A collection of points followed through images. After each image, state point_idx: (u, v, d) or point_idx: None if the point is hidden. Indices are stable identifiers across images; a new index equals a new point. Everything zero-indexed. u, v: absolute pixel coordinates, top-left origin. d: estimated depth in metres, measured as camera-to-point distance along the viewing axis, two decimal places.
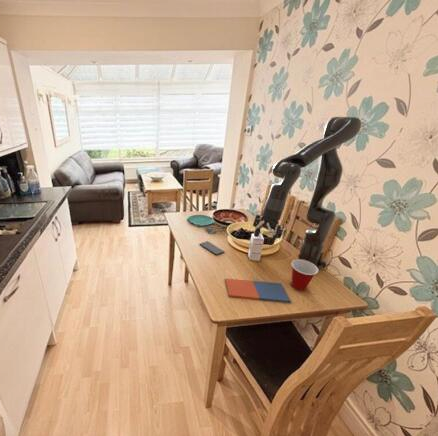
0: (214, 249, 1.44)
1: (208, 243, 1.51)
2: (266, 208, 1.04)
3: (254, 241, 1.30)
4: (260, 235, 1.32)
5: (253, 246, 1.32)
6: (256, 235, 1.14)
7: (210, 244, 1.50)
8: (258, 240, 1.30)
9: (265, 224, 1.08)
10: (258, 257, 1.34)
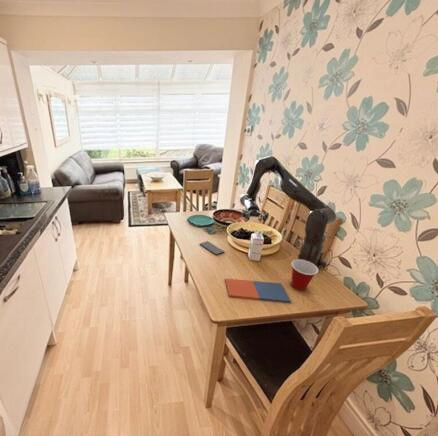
0: (214, 249, 1.44)
1: (208, 243, 1.51)
2: None
3: (254, 241, 1.30)
4: (260, 235, 1.32)
5: (253, 246, 1.32)
6: (263, 220, 1.38)
7: (210, 244, 1.50)
8: (258, 240, 1.30)
9: None
10: (258, 257, 1.34)
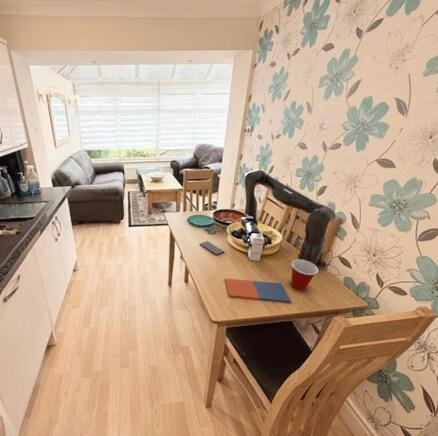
0: (214, 249, 1.44)
1: (208, 243, 1.51)
2: None
3: (254, 241, 1.30)
4: (260, 235, 1.32)
5: (253, 246, 1.32)
6: None
7: (210, 244, 1.50)
8: (258, 240, 1.30)
9: None
10: (258, 257, 1.34)
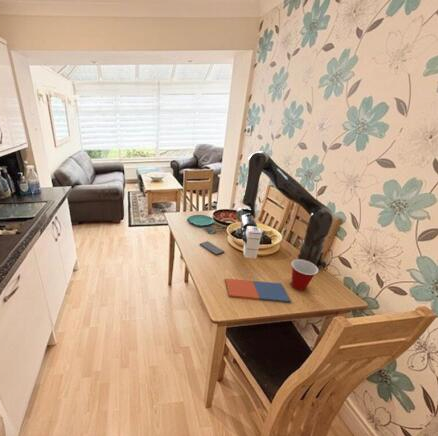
0: (214, 249, 1.44)
1: (208, 243, 1.51)
2: None
3: (250, 235, 1.10)
4: (257, 228, 1.11)
5: (248, 241, 1.11)
6: None
7: (210, 244, 1.50)
8: (254, 234, 1.09)
9: None
10: (254, 254, 1.13)
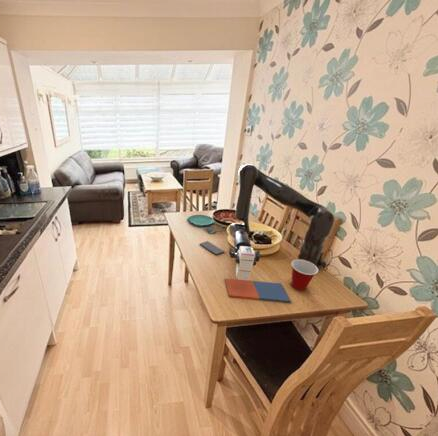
0: (214, 249, 1.44)
1: (208, 243, 1.51)
2: None
3: (242, 256, 1.03)
4: (250, 248, 1.05)
5: (241, 262, 1.04)
6: None
7: (210, 244, 1.50)
8: (247, 255, 1.02)
9: None
10: (248, 276, 1.06)
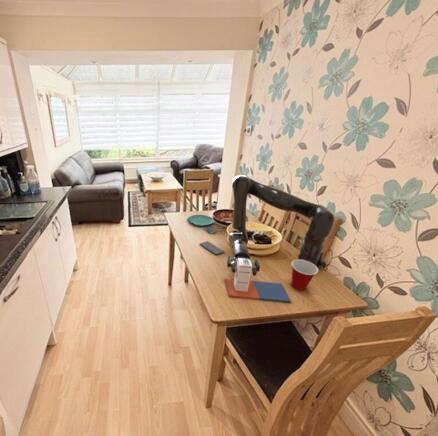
0: (214, 249, 1.44)
1: (208, 243, 1.51)
2: None
3: (240, 268, 1.06)
4: (248, 261, 1.07)
5: (239, 274, 1.07)
6: (253, 273, 1.07)
7: (210, 244, 1.50)
8: (245, 267, 1.05)
9: None
10: (245, 287, 1.09)
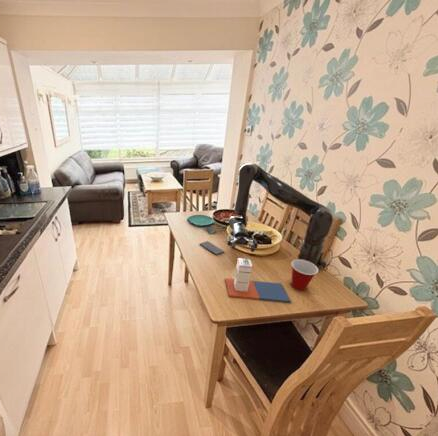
0: (214, 249, 1.44)
1: (208, 243, 1.51)
2: None
3: (240, 268, 1.06)
4: (248, 261, 1.07)
5: (239, 274, 1.07)
6: (251, 250, 1.16)
7: (210, 244, 1.50)
8: (245, 267, 1.05)
9: None
10: (245, 287, 1.09)
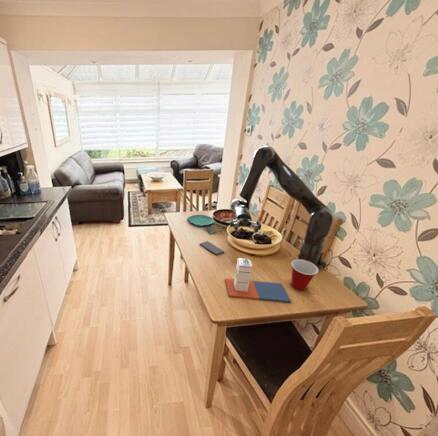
0: (214, 249, 1.44)
1: (208, 243, 1.51)
2: None
3: (240, 268, 1.06)
4: (248, 261, 1.07)
5: (239, 274, 1.07)
6: (255, 231, 1.12)
7: (210, 244, 1.50)
8: (245, 267, 1.05)
9: None
10: (245, 287, 1.09)
